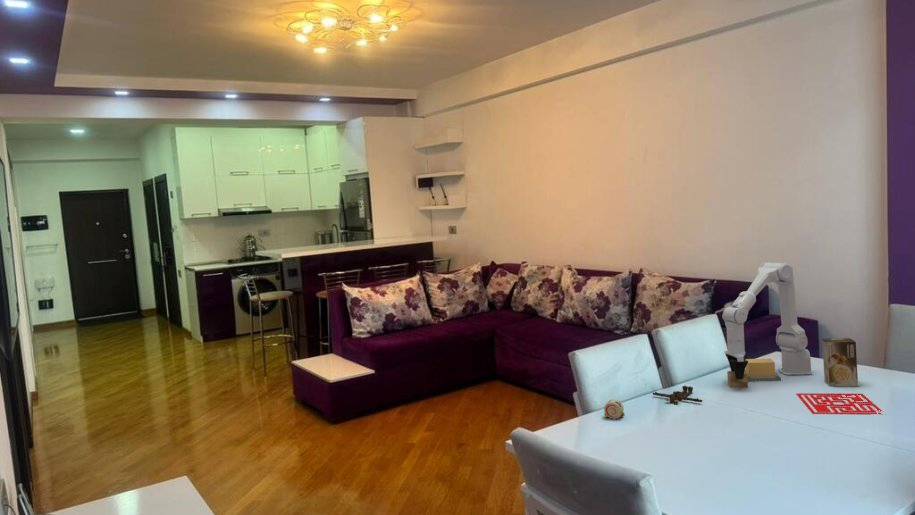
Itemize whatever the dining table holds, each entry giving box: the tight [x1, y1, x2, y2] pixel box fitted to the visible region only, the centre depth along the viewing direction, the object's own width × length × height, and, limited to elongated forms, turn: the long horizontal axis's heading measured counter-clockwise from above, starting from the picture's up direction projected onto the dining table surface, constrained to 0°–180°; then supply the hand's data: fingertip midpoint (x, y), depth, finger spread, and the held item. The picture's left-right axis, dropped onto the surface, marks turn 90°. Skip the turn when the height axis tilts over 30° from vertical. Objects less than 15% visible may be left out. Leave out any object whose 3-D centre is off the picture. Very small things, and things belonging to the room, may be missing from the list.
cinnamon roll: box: [603, 398, 625, 420], centre depth 204 cm, size 4×6×6 cm
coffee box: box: [821, 337, 859, 388], centre depth 218 cm, size 9×6×16 cm
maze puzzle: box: [795, 392, 883, 415], centre depth 200 cm, size 20×20×1 cm
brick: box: [744, 358, 776, 376], centre depth 234 cm, size 9×6×5 cm, turn 77°
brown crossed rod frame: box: [652, 385, 704, 404], centre depth 218 cm, size 18×4×14 cm
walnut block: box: [726, 370, 749, 389], centre depth 226 cm, size 6×4×5 cm
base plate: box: [745, 369, 782, 383], centre depth 235 cm, size 12×12×2 cm
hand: (737, 376), depth 226 cm, fingers open, 7 cm apart
